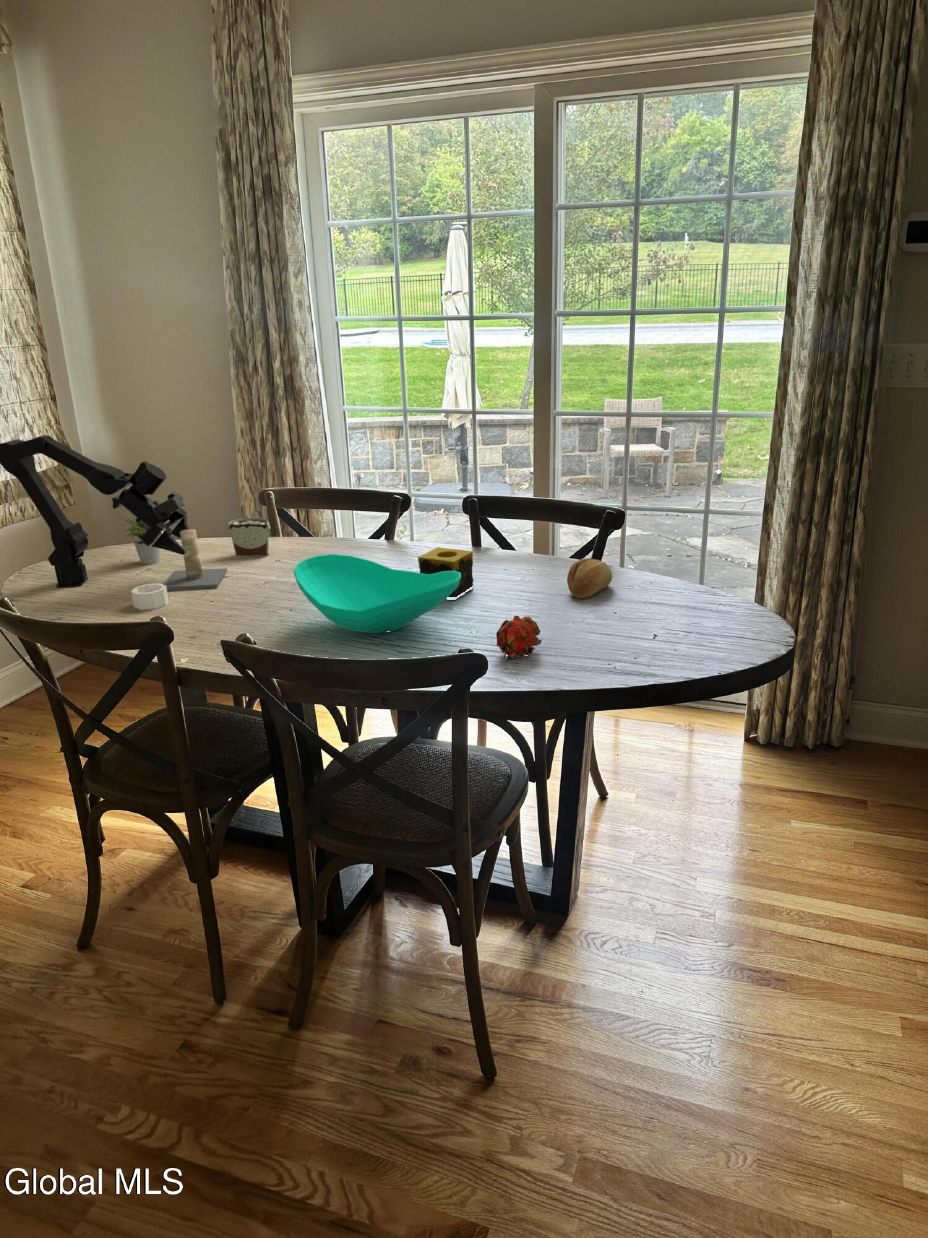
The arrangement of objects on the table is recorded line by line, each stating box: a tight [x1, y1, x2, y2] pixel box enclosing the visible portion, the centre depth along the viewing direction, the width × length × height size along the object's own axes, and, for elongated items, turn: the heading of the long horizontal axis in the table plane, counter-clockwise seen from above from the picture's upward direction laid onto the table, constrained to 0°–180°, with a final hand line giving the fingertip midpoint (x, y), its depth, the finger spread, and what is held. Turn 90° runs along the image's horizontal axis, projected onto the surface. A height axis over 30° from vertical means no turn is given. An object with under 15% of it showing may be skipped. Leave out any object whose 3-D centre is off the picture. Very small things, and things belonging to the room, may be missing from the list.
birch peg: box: [180, 528, 203, 580], centre depth 223 cm, size 4×4×12 cm
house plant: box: [118, 510, 161, 565], centre depth 242 cm, size 14×14×16 cm
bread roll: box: [566, 557, 613, 599], centre depth 205 cm, size 10×15×8 cm, turn 150°
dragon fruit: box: [495, 615, 542, 659], centre depth 171 cm, size 8×8×12 cm
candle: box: [417, 546, 474, 597], centre depth 208 cm, size 10×10×10 cm
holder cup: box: [130, 582, 170, 611], centre depth 208 cm, size 8×8×4 cm
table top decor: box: [293, 553, 461, 634], centre depth 187 cm, size 40×28×13 cm
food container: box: [227, 517, 271, 557], centre depth 246 cm, size 12×6×10 cm, turn 84°
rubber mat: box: [162, 567, 228, 592], centre depth 225 cm, size 14×14×1 cm
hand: (190, 548), depth 222 cm, fingers open, 9 cm apart
